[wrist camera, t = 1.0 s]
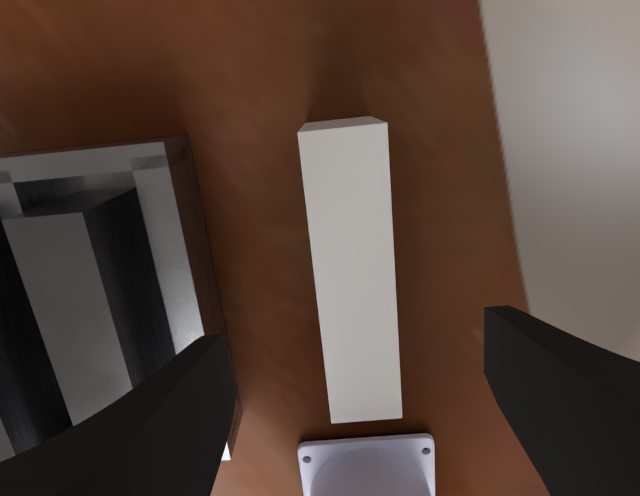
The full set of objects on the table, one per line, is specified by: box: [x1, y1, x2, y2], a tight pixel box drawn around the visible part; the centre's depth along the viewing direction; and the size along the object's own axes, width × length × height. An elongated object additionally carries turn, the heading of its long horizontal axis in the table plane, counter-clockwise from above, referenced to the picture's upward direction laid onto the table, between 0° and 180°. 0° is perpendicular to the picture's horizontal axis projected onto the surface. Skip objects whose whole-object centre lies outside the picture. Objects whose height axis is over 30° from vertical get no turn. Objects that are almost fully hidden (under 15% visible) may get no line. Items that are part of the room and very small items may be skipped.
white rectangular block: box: [297, 116, 402, 424], centre depth 19 cm, size 12×3×6 cm, turn 6°
